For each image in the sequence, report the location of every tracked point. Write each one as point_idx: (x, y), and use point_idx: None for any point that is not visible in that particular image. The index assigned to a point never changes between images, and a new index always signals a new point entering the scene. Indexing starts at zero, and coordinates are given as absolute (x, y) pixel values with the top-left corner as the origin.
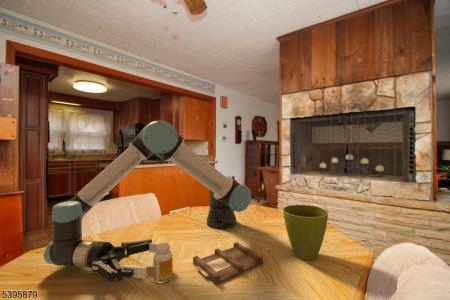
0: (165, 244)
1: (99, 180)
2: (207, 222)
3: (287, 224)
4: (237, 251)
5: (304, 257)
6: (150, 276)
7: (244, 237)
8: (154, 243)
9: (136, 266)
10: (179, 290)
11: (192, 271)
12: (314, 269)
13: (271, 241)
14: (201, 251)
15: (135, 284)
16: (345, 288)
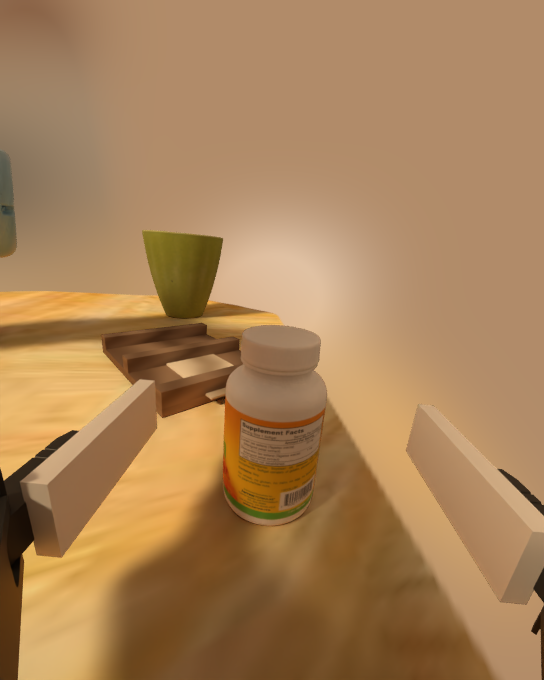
0: (261, 331)
1: None
2: None
3: (188, 258)
4: (138, 347)
5: (201, 311)
6: (253, 563)
7: (38, 340)
8: (74, 443)
9: (457, 441)
10: (323, 428)
11: (216, 414)
12: (226, 317)
13: (106, 323)
14: (61, 406)
15: (357, 638)
16: (266, 314)
